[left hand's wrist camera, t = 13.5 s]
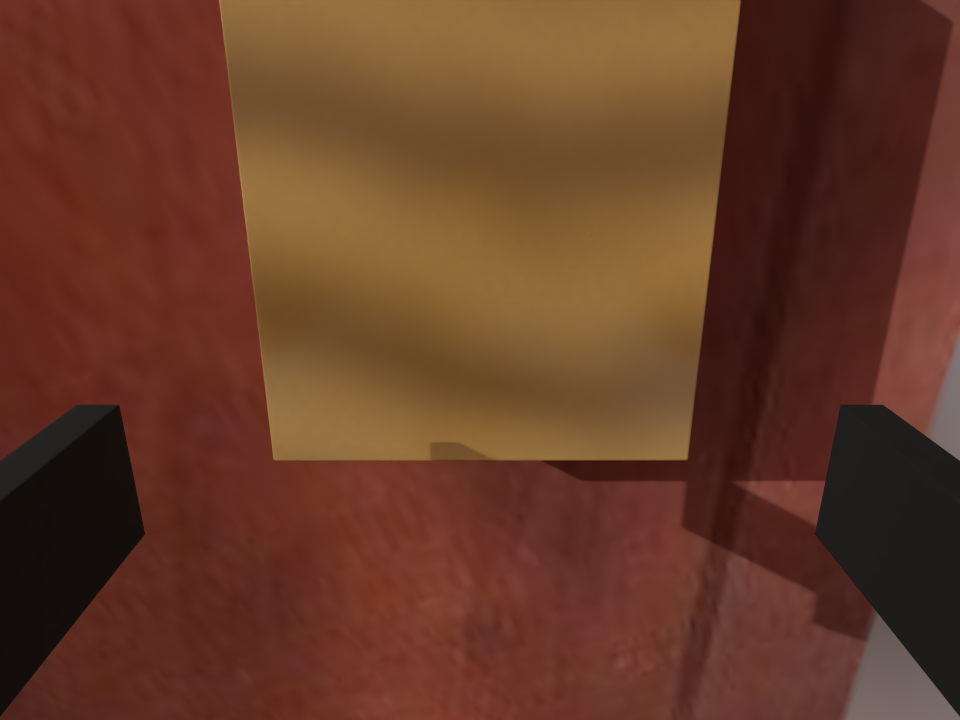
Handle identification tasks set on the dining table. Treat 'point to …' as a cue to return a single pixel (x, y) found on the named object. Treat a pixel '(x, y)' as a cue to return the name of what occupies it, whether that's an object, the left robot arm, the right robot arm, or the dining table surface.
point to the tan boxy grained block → (480, 221)
